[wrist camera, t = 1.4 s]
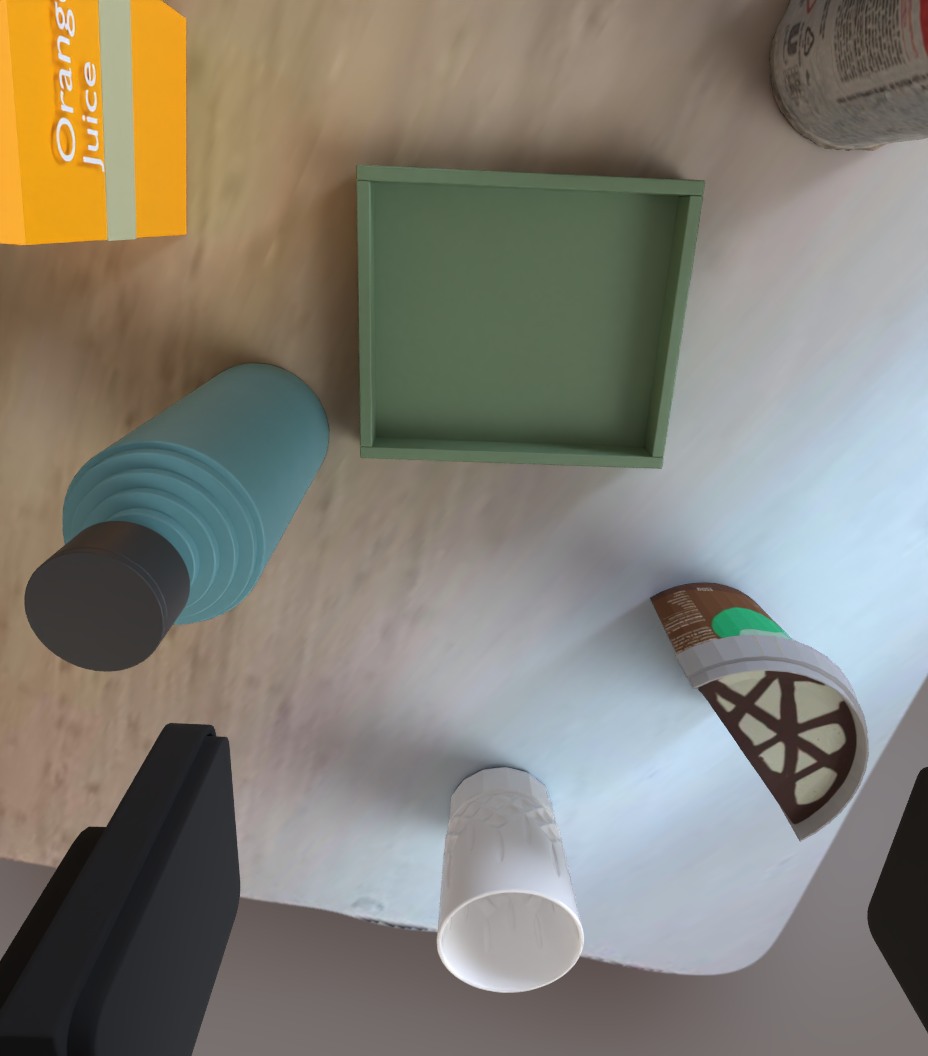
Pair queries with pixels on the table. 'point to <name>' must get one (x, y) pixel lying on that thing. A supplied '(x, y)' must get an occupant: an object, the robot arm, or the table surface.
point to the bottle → (212, 479)
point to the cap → (108, 596)
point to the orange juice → (91, 120)
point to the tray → (520, 314)
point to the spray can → (853, 71)
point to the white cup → (506, 886)
